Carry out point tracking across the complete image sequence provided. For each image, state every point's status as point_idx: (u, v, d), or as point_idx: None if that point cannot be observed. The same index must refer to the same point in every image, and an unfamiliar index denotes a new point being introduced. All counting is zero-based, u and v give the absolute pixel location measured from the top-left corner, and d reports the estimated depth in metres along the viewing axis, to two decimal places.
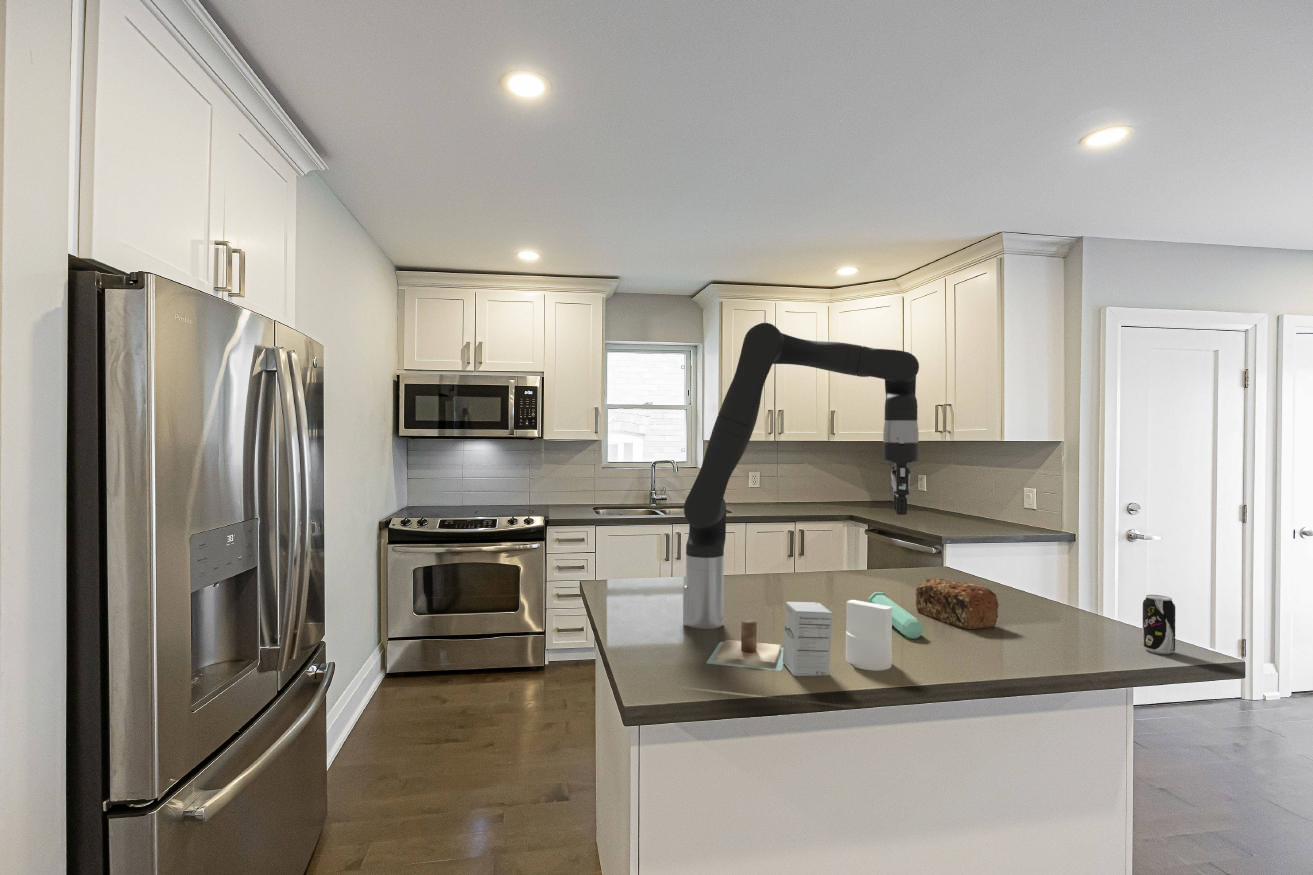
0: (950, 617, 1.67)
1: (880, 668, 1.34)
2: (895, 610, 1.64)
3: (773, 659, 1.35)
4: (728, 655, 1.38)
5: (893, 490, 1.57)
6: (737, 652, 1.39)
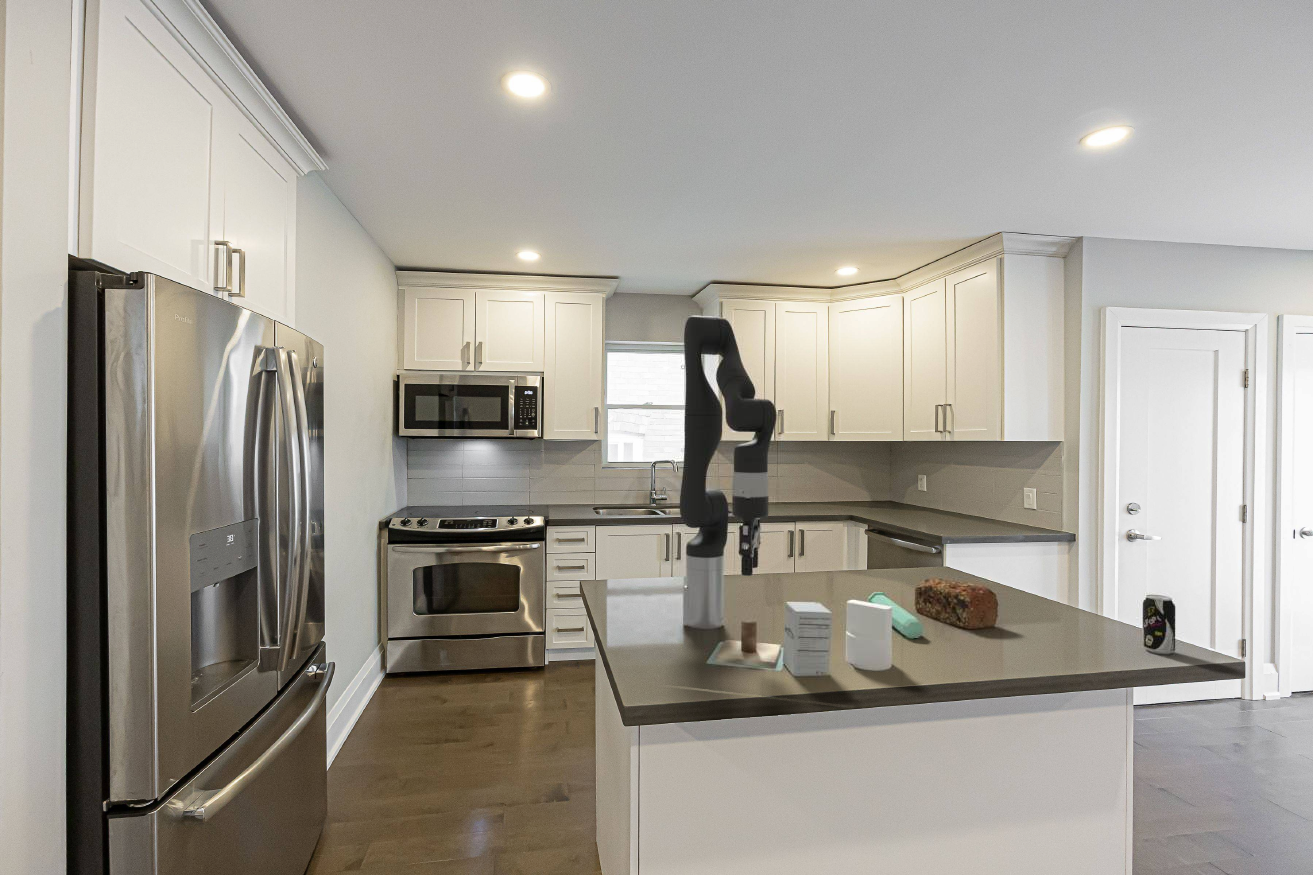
0: (950, 617, 1.67)
1: (880, 668, 1.34)
2: (895, 610, 1.64)
3: (773, 659, 1.35)
4: (728, 655, 1.38)
5: None
6: (737, 652, 1.39)
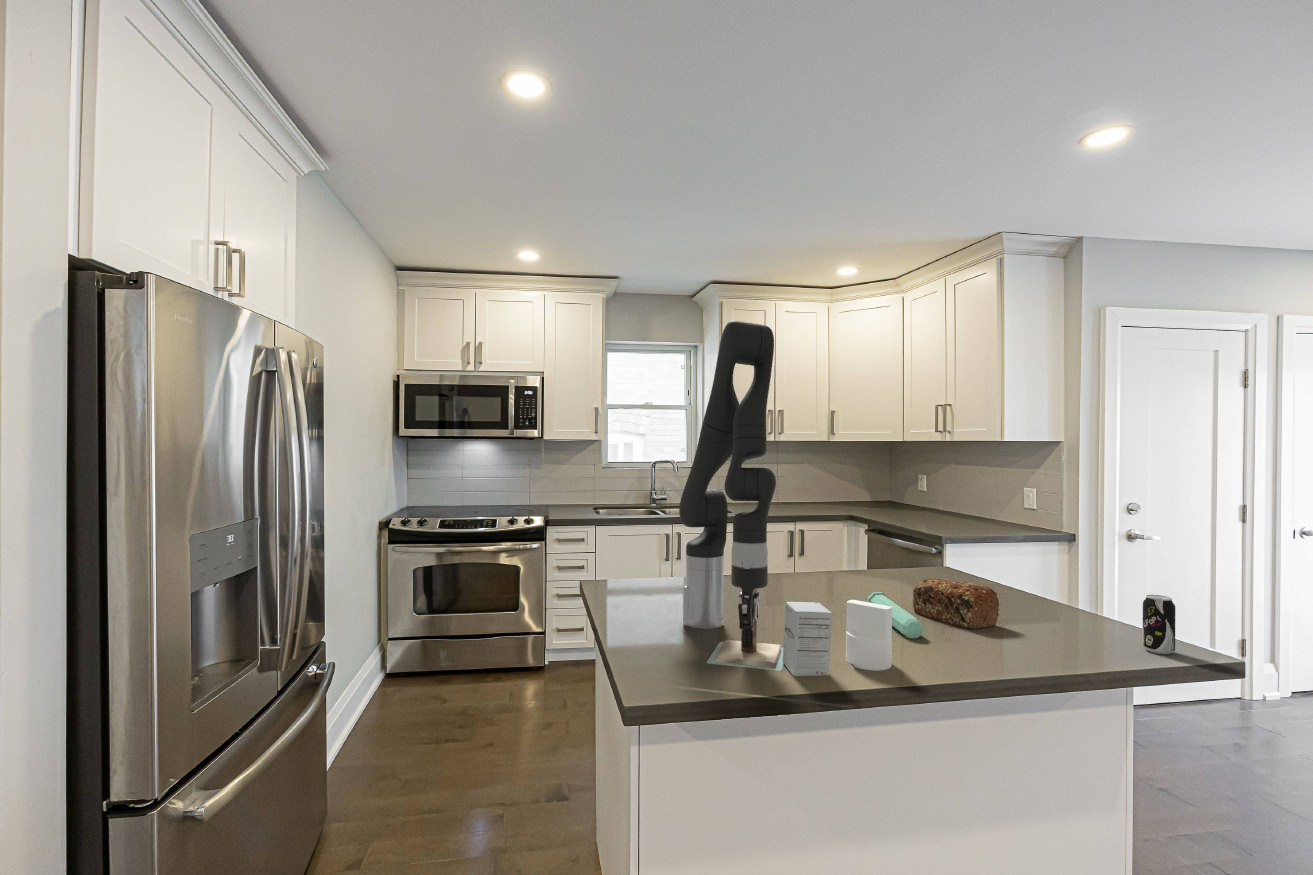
0: (953, 617, 1.67)
1: (880, 668, 1.34)
2: (895, 610, 1.64)
3: (773, 659, 1.35)
4: (728, 655, 1.38)
5: None
6: (737, 652, 1.39)
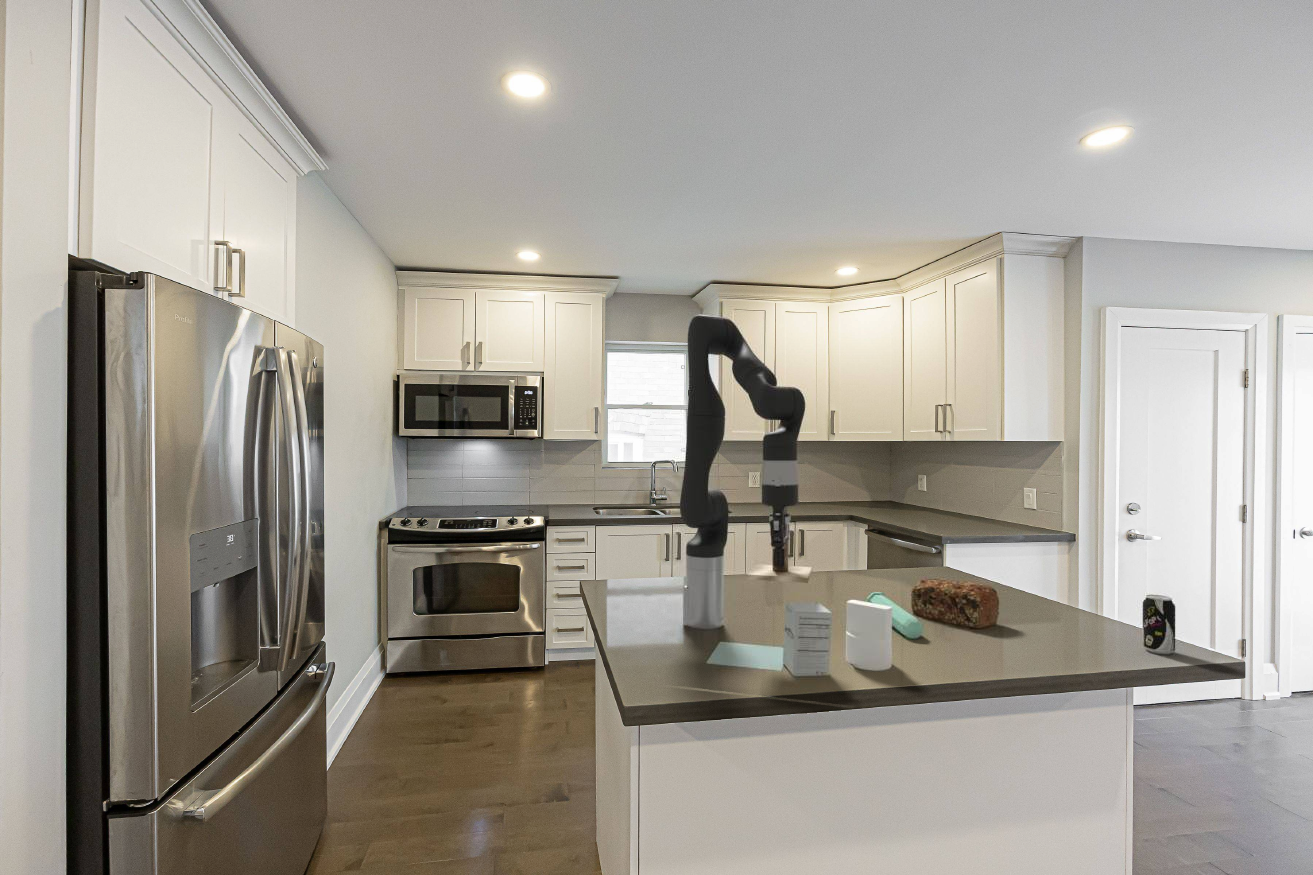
0: (957, 617, 1.67)
1: (880, 668, 1.34)
2: (894, 610, 1.64)
3: (806, 576, 1.34)
4: (760, 573, 1.37)
5: (775, 541, 1.43)
6: (768, 572, 1.38)
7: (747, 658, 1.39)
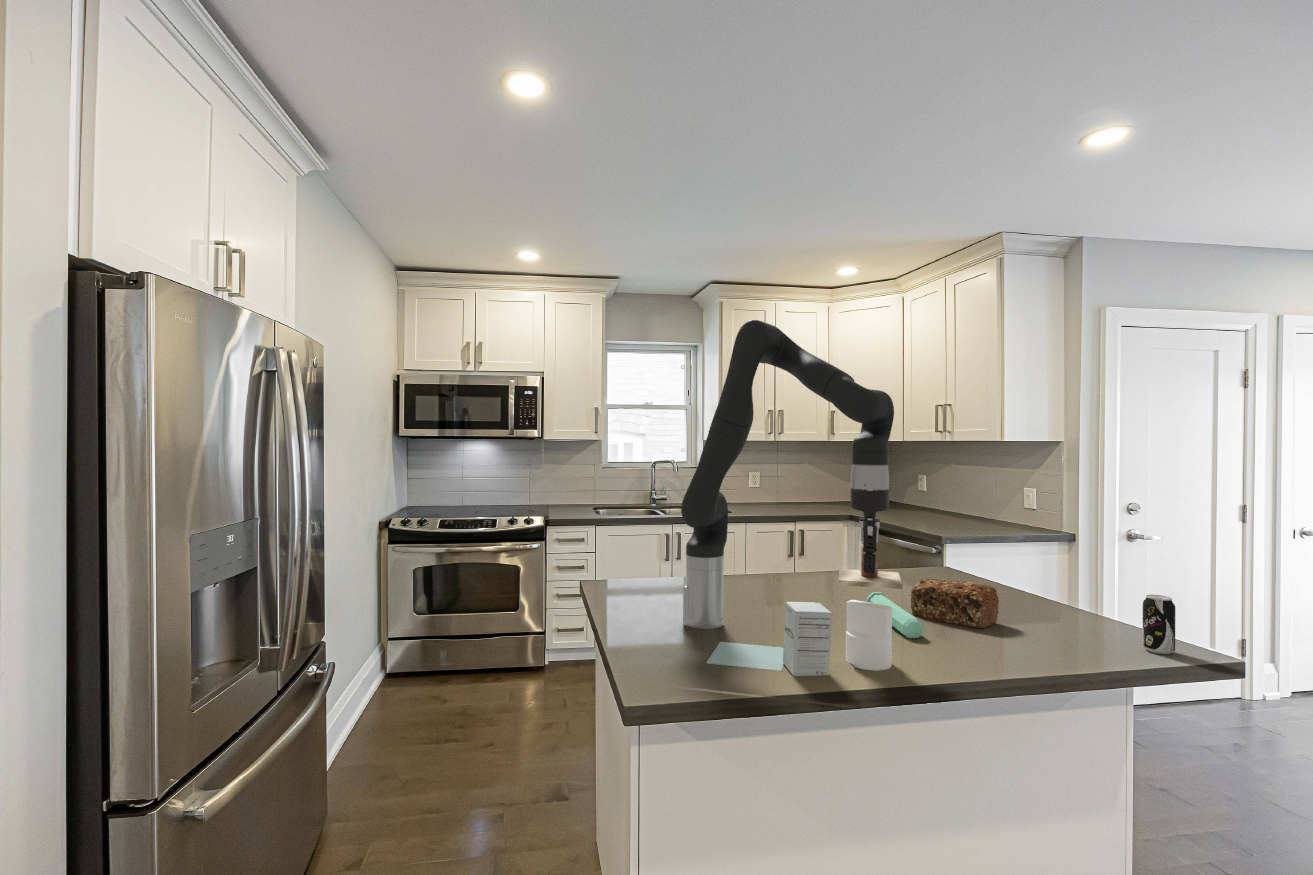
0: (959, 617, 1.67)
1: (880, 668, 1.34)
2: (894, 610, 1.64)
3: (899, 582, 1.33)
4: (851, 579, 1.35)
5: None
6: (859, 577, 1.37)
7: (747, 658, 1.39)
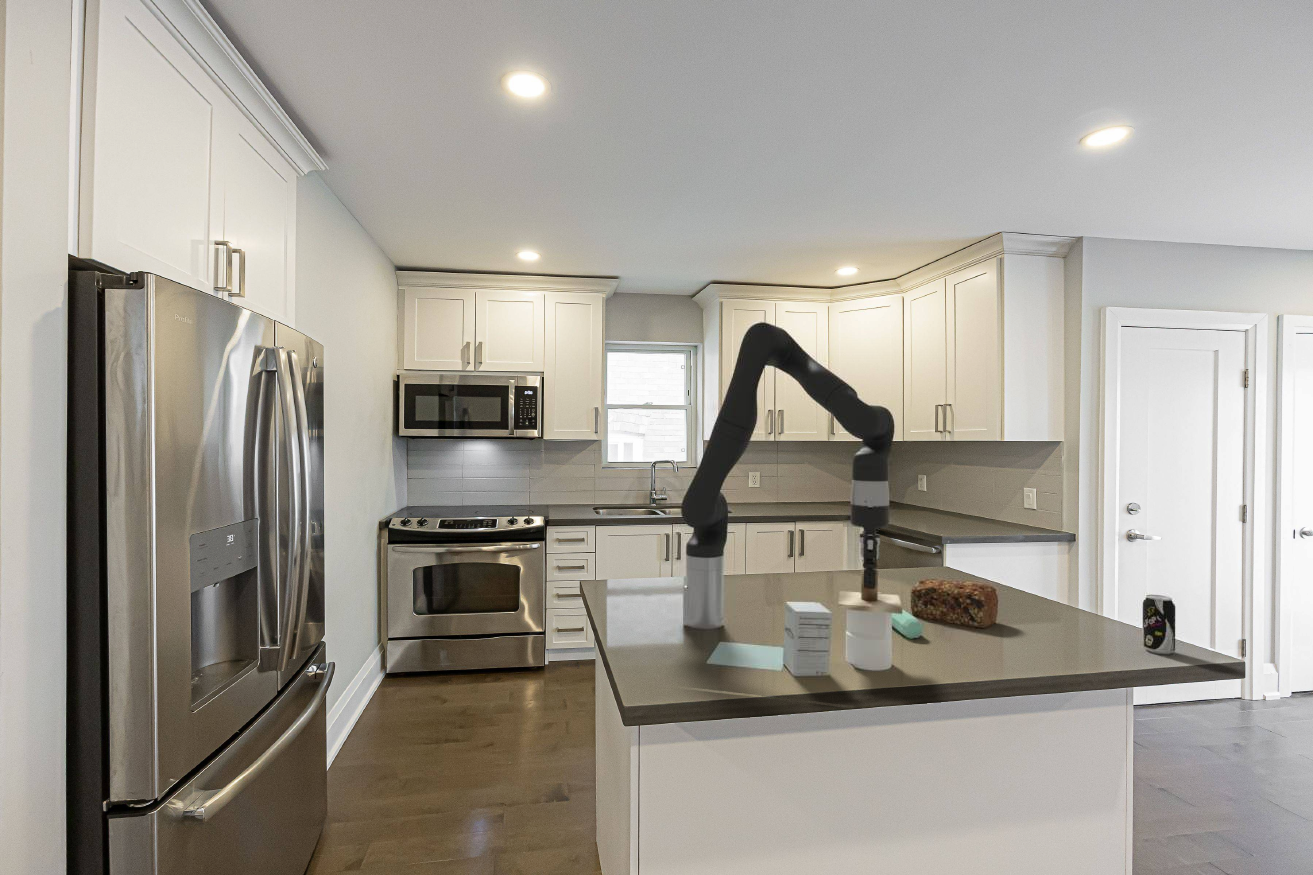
0: (960, 617, 1.67)
1: (880, 668, 1.34)
2: None
3: (899, 606, 1.33)
4: (851, 603, 1.35)
5: (862, 559, 1.42)
6: (859, 601, 1.37)
7: (747, 658, 1.39)
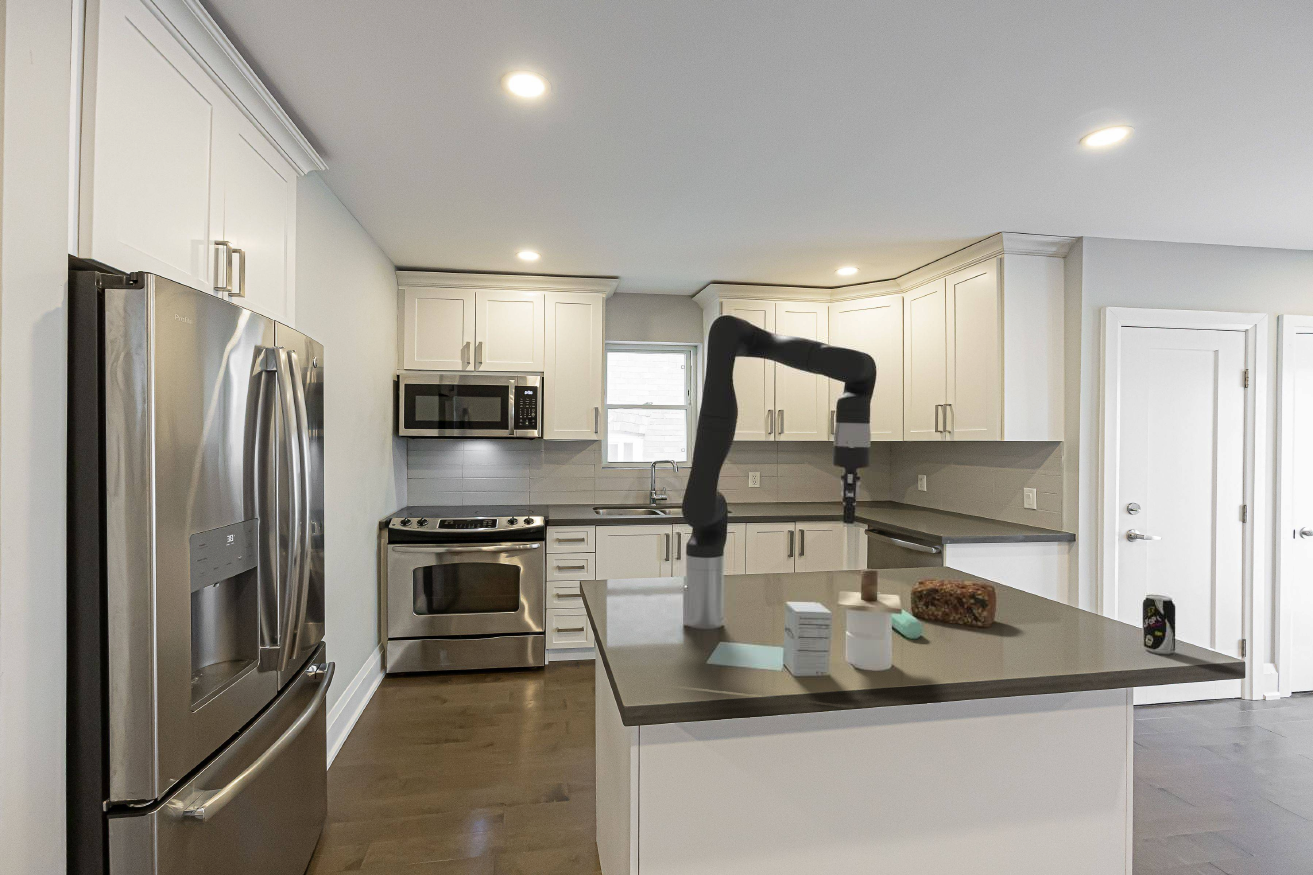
0: (963, 617, 1.67)
1: (880, 668, 1.34)
2: None
3: (899, 606, 1.33)
4: (850, 603, 1.35)
5: None
6: (858, 601, 1.37)
7: (747, 658, 1.39)
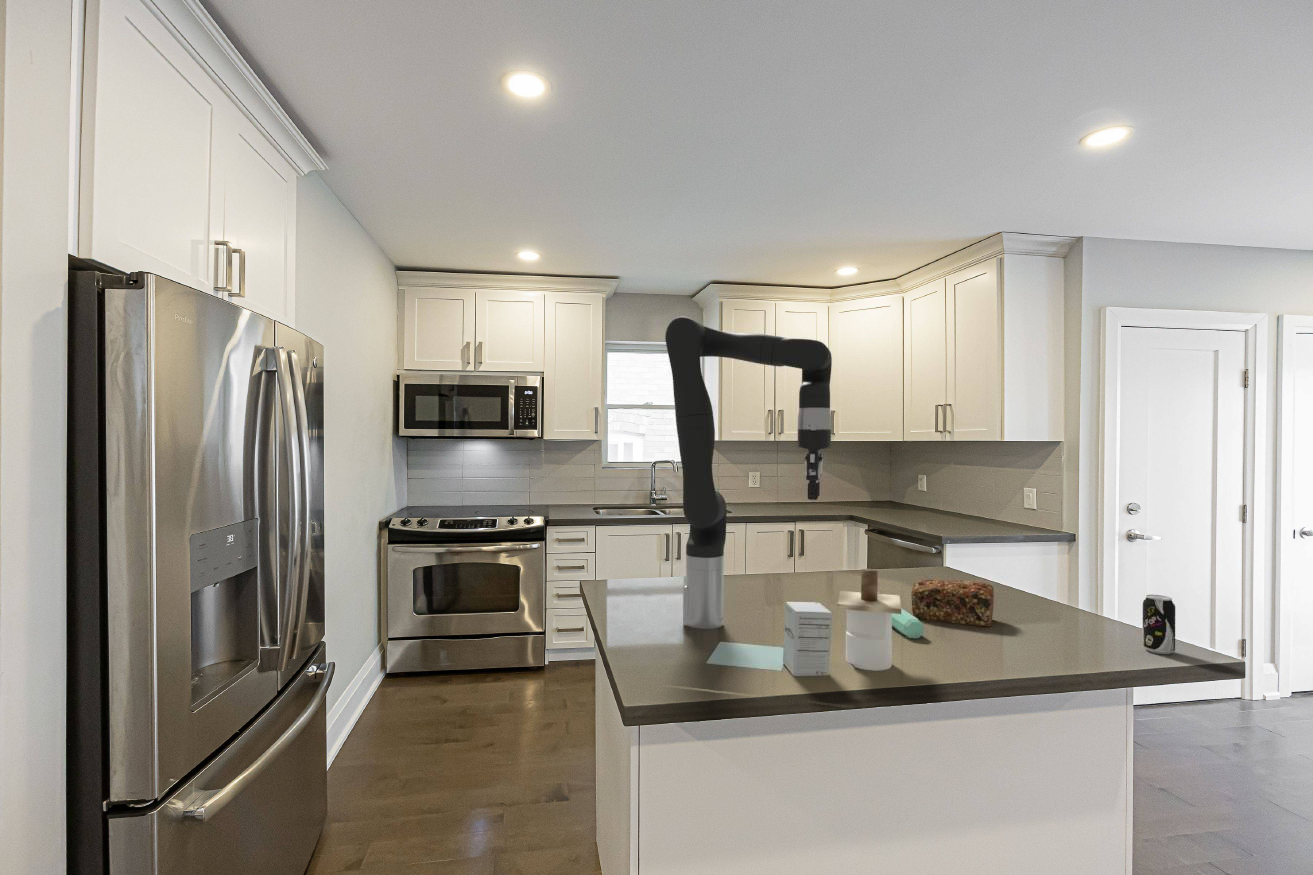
0: (966, 617, 1.67)
1: (880, 668, 1.34)
2: None
3: (898, 606, 1.32)
4: (850, 602, 1.35)
5: None
6: (858, 601, 1.37)
7: (747, 658, 1.39)
